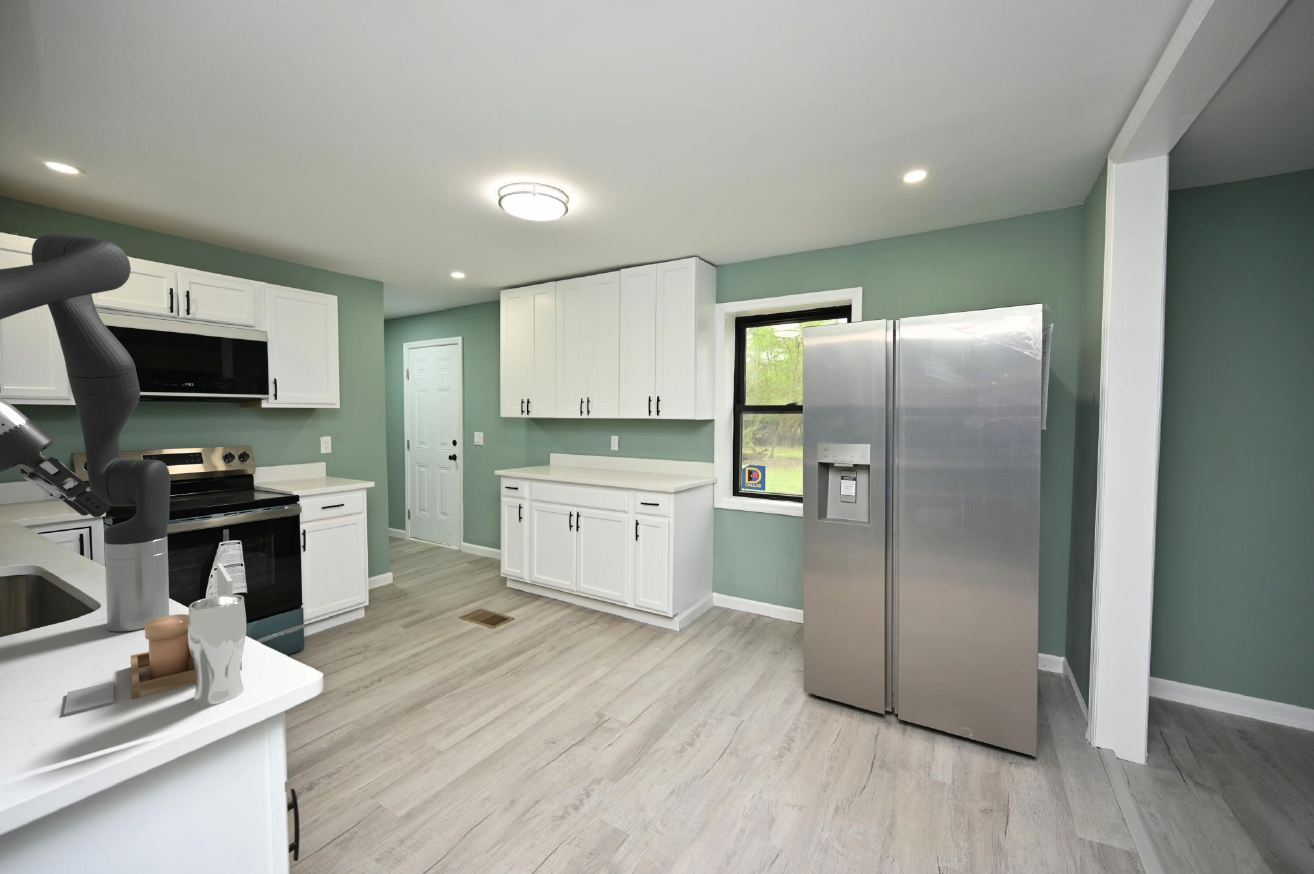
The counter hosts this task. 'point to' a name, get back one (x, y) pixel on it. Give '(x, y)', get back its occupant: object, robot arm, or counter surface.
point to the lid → (223, 581)
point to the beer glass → (217, 647)
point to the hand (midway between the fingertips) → (97, 512)
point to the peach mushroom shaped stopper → (168, 645)
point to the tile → (89, 698)
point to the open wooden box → (157, 684)
